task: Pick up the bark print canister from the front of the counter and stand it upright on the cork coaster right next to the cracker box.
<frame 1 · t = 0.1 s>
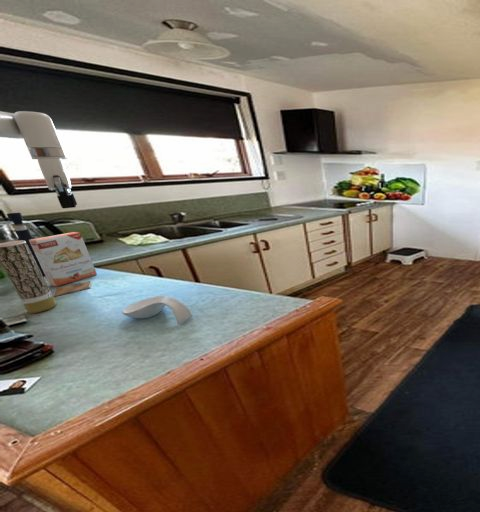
hand: (70, 206, 94), 35 cm above the counter, tool pointing down, fingers open, 9 cm apart
bark print canister: (43, 309, 98), on the counter
cracker box: (75, 280, 123), on the counter
spoon rest: (161, 316, 91), on the counter
wine bottle: (44, 275, 131), on the counter
coaster: (73, 288, 114), on the counter
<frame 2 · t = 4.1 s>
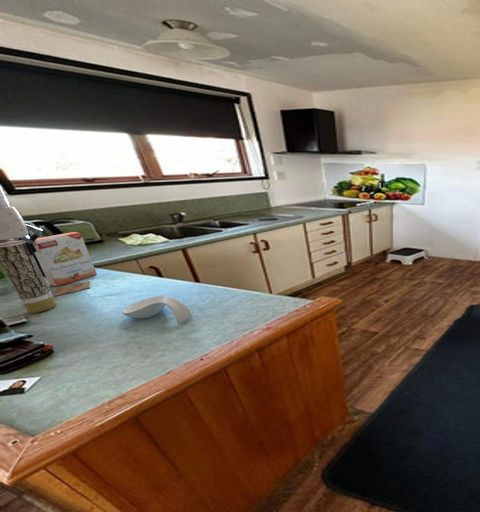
hand: (16, 256, 91), 20 cm above the counter, tool pointing down, fingers closed on bark print canister, 6 cm apart
bark print canister: (43, 309, 98), on the counter, touching gripper
everything else where it was.
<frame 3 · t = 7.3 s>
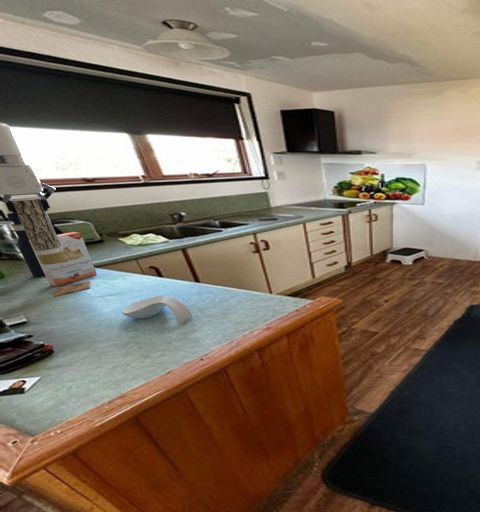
hand: (31, 211, 100), 33 cm above the counter, tool pointing down, fingers closed on bark print canister, 6 cm apart
bark print canister: (55, 262, 107), point 13 cm above the counter, touching gripper
everything else where it was.
when the fingers open (21 cm above the counter, at t = 10.9 s): bark print canister stays where it is, resting on coaster.
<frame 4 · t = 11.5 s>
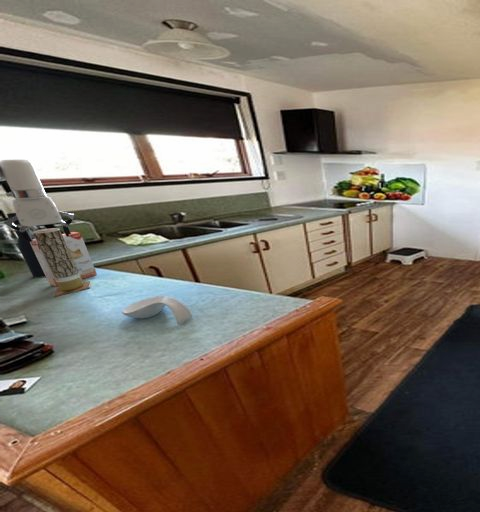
hand: (50, 238, 107), 22 cm above the counter, tool pointing down, fingers open, 9 cm apart
bark print canister: (72, 288, 114), resting on coaster
everything else where it was.
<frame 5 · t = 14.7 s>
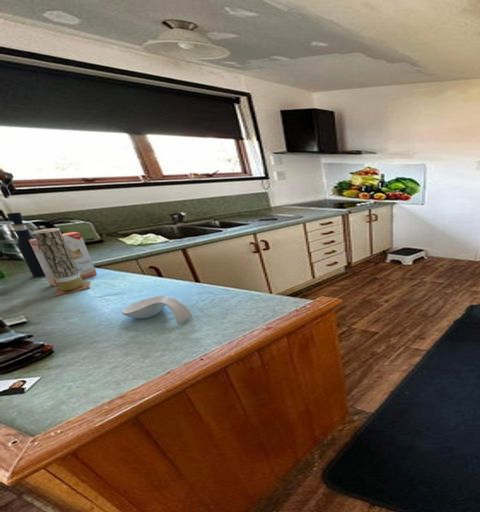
nothing on the counter moved.
at the end: bark print canister 0.1 cm off-centre on the coaster, point 0.3 cm above the coaster's base; bark print canister tilted 0°; bark print canister 14.0 cm from the cracker box (horizontally) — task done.
